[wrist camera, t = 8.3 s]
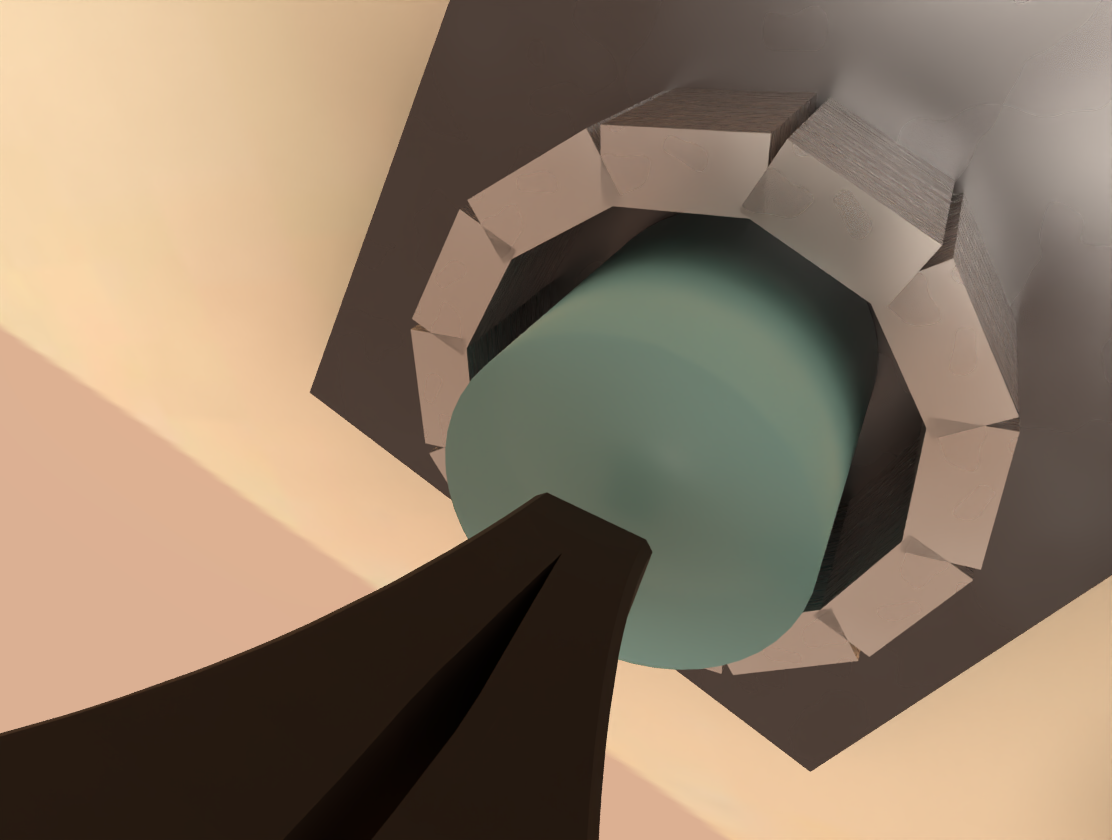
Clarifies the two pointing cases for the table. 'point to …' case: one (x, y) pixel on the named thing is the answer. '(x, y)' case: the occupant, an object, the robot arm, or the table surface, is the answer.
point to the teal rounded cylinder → (683, 427)
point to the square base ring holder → (824, 239)
